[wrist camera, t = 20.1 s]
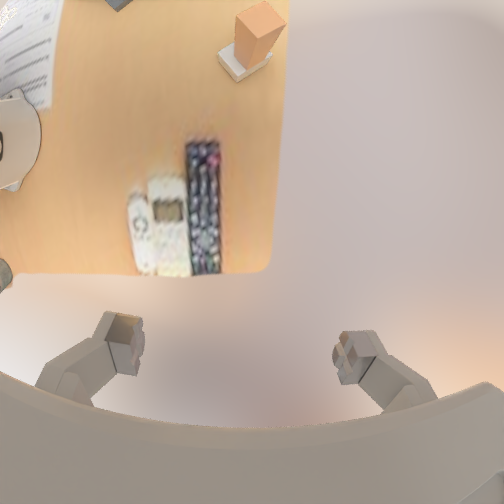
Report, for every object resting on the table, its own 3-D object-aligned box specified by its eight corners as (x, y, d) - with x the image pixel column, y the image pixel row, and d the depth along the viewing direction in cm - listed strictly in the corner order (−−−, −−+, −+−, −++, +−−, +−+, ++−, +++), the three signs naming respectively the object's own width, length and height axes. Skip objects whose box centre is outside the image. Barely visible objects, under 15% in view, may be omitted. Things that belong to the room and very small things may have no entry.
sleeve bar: (300, 16, 14) (266, -19, 12) (242, 47, 15) (208, 11, 13) (266, 64, 31) (249, 43, 29) (236, 83, 32) (219, 62, 30)
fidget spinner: (-4, 37, 19) (-6, 36, 18) (-7, 20, 16) (-9, 20, 15) (19, 11, 18) (16, 11, 17) (15, -4, 15) (13, -5, 14)
